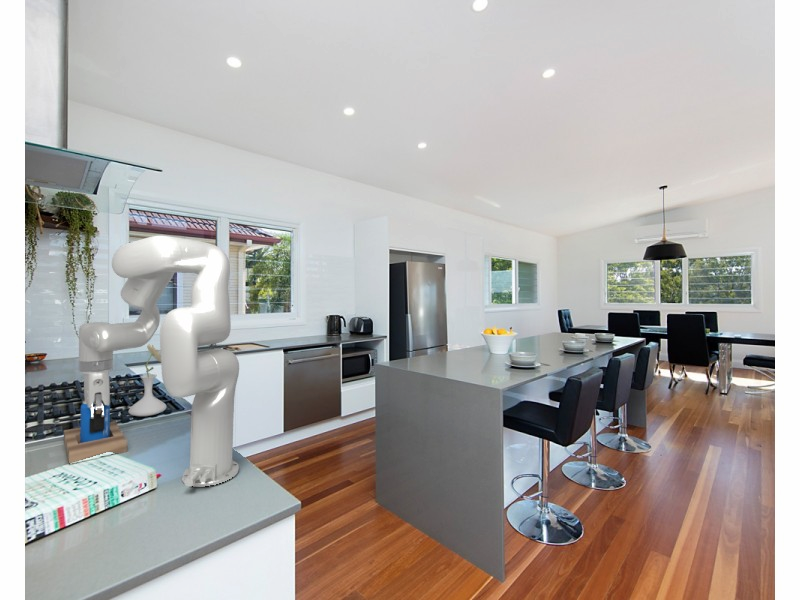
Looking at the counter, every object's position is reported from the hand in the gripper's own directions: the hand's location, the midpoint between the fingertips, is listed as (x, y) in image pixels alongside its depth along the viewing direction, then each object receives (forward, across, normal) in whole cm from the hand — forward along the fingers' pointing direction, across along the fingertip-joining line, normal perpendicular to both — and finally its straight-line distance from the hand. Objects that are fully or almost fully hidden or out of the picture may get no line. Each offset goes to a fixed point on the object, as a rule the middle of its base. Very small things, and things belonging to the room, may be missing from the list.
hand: (95, 427), depth 105 cm
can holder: (+5, 0, 0) cm, 5 cm away
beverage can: (+4, 0, 0) cm, 4 cm away
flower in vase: (+6, +22, -17) cm, 29 cm away
